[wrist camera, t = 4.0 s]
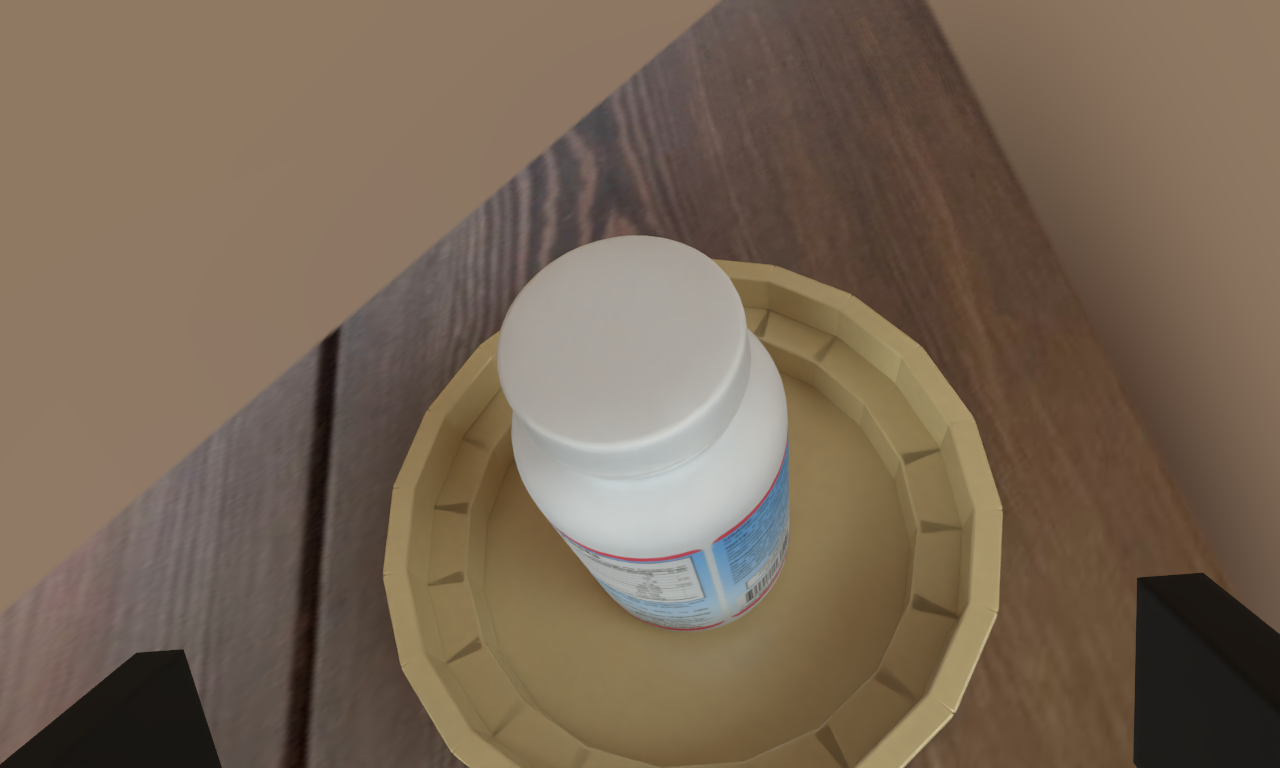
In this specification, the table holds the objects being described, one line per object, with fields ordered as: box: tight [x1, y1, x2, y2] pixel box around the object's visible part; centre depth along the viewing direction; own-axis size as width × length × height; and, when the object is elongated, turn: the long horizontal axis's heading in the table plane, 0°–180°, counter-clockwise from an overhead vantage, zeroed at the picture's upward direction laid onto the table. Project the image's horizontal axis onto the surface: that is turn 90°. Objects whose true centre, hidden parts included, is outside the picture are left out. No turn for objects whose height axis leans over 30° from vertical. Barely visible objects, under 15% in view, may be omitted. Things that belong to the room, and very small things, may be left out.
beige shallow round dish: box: [383, 259, 1003, 768], centre depth 22 cm, size 16×16×4 cm
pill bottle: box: [497, 236, 790, 633], centre depth 19 cm, size 6×6×11 cm
